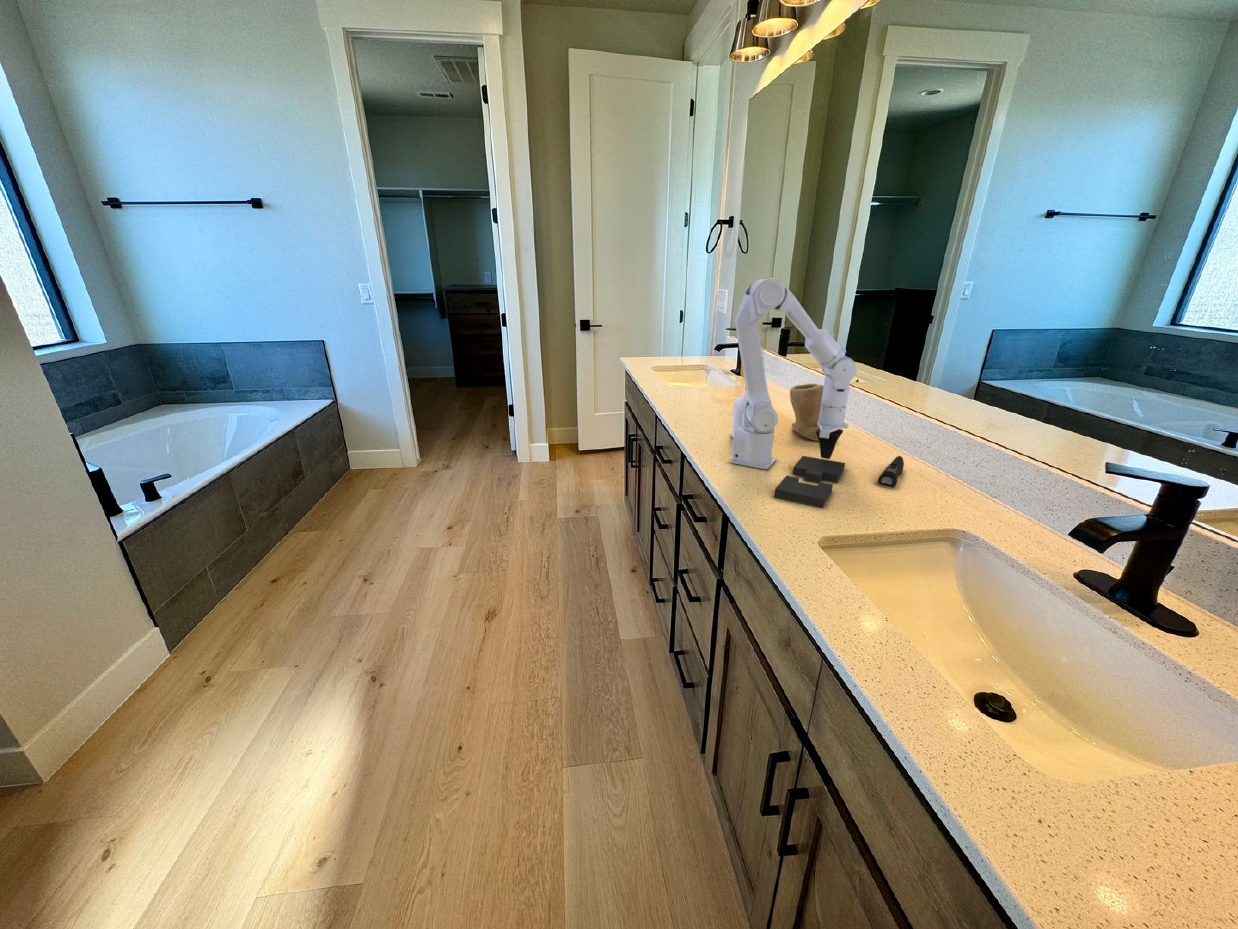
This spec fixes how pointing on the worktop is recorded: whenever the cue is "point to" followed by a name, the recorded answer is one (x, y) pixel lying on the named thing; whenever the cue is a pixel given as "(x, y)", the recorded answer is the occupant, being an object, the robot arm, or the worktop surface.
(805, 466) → the pad
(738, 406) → the soap bottle
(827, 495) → the notch pad
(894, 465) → the electric trimmer
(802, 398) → the brown boot
